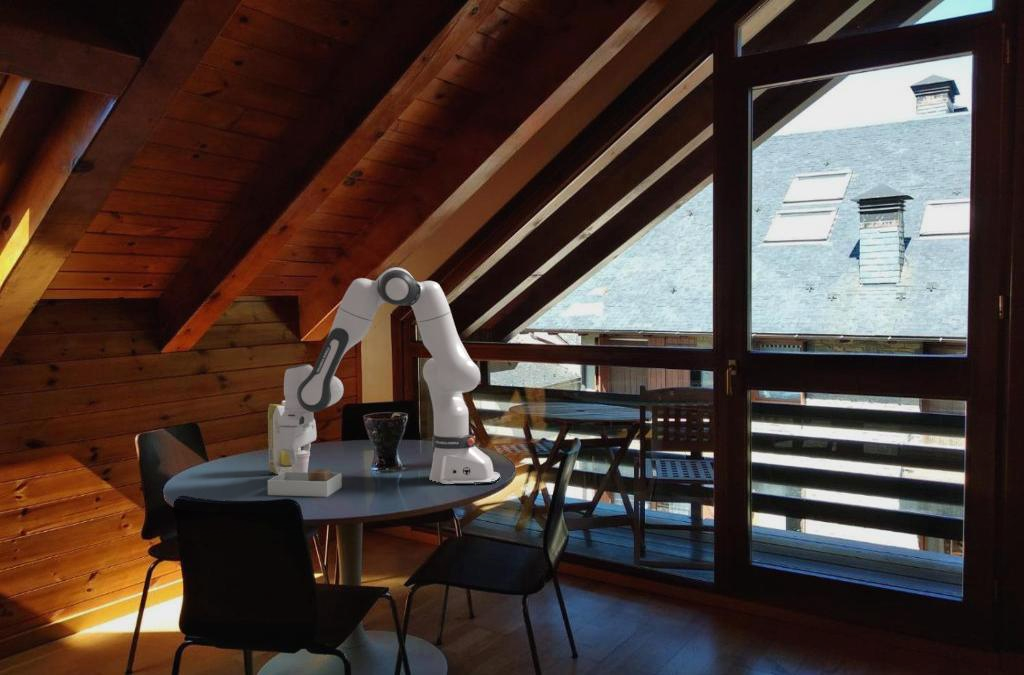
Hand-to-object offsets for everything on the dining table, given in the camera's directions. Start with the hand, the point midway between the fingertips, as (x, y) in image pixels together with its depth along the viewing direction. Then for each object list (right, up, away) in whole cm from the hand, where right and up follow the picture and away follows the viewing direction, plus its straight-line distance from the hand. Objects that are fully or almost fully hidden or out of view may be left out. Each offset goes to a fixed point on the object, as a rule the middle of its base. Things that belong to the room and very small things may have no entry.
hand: (299, 460), depth 256 cm
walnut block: (+10, -7, -14) cm, 18 cm away
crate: (+5, -8, -13) cm, 16 cm away
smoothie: (0, -7, 0) cm, 7 cm away
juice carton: (-9, -7, +16) cm, 19 cm away
